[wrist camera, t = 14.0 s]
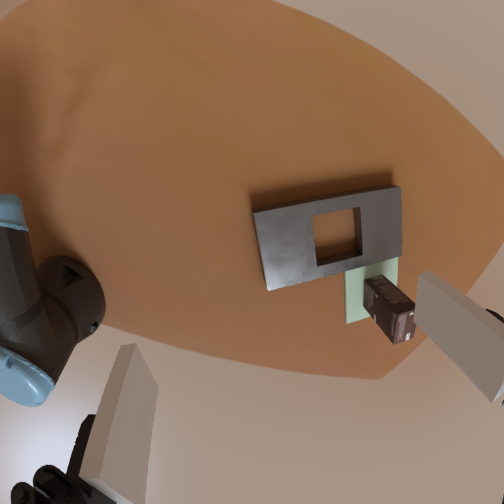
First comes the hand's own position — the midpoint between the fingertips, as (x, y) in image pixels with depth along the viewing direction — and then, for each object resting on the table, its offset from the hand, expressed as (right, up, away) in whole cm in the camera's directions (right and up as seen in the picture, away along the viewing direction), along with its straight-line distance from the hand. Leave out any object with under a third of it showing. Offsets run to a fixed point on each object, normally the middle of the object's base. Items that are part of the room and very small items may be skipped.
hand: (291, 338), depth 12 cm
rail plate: (+11, +7, +32) cm, 34 cm away
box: (+20, -3, +36) cm, 42 cm away
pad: (+20, -3, +37) cm, 42 cm away
